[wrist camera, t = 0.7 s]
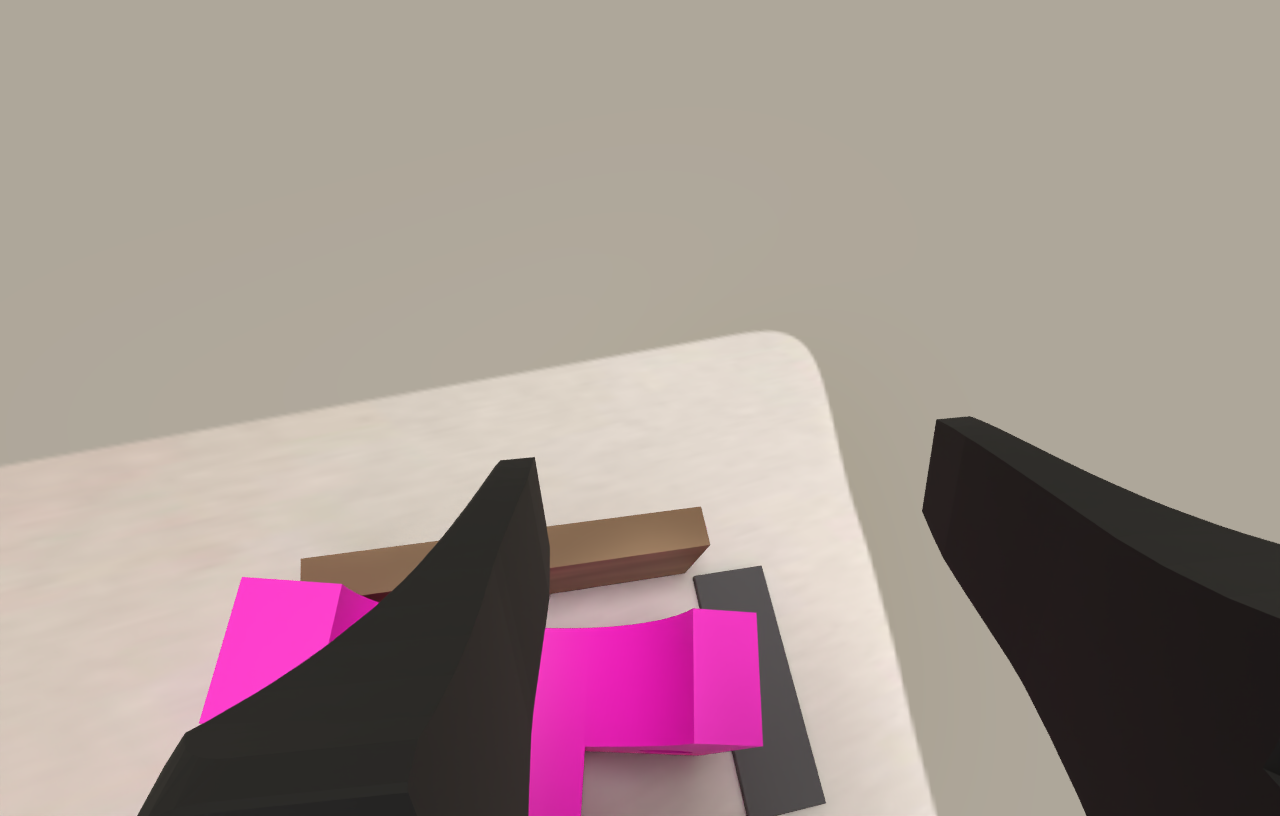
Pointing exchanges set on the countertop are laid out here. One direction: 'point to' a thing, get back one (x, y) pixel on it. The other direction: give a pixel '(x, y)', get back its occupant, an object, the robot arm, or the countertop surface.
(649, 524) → the channel
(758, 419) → the countertop surface
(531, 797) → the toy block
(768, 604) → the pit pad
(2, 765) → the countertop surface
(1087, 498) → the robot arm
